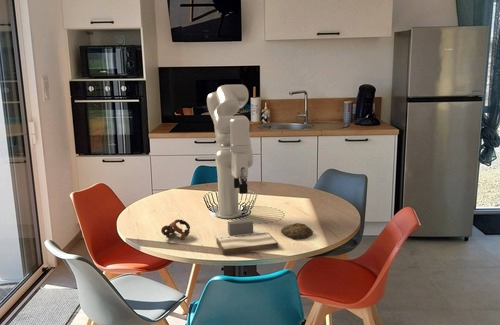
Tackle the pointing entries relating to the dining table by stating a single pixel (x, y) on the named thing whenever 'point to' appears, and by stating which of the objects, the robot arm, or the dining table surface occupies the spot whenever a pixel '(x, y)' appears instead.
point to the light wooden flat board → (246, 243)
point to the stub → (239, 229)
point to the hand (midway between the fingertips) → (240, 190)
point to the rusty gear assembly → (176, 229)
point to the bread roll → (297, 231)
